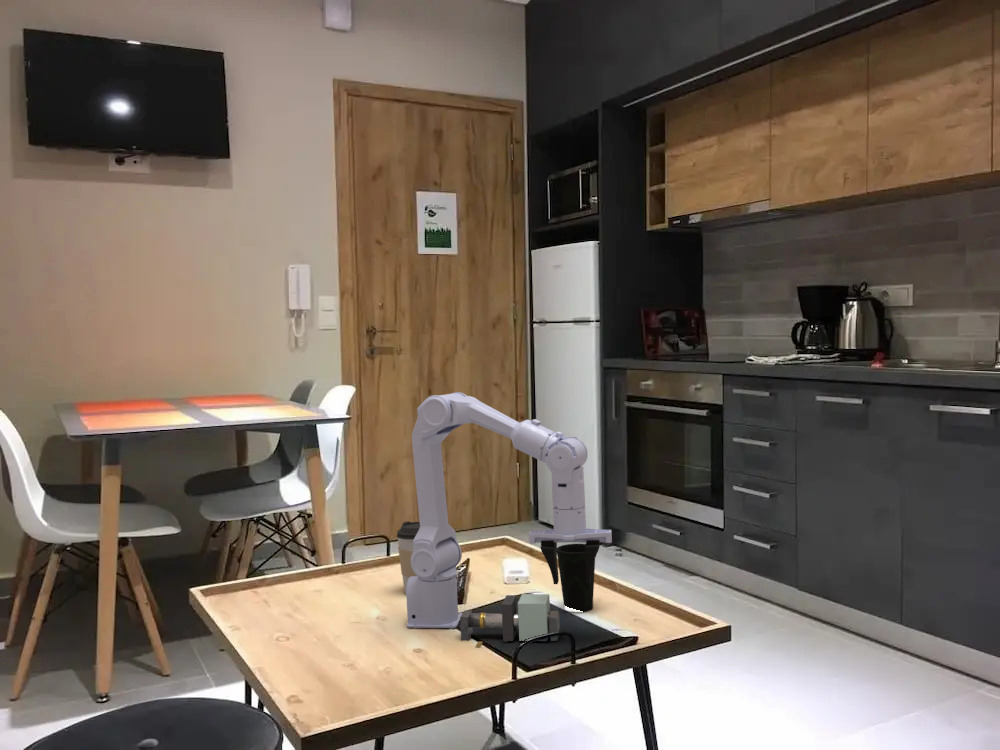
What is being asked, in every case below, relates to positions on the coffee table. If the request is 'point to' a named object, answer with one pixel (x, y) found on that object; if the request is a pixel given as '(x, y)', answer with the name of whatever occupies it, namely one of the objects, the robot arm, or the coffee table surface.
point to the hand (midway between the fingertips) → (572, 582)
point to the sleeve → (533, 615)
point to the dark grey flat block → (509, 617)
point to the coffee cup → (407, 548)
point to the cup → (575, 577)
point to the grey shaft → (496, 622)
